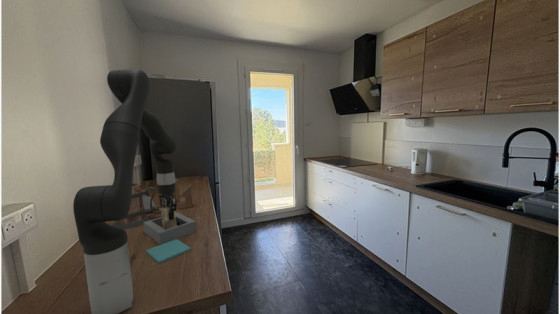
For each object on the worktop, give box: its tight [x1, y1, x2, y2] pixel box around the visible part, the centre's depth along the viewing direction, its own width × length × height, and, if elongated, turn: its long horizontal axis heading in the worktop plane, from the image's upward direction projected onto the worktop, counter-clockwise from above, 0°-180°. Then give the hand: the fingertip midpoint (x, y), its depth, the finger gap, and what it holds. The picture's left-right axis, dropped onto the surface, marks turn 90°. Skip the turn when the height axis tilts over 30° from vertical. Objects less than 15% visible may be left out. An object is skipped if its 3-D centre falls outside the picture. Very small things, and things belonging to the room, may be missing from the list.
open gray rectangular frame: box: [143, 212, 197, 245], centre depth 106 cm, size 18×16×5 cm
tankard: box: [111, 182, 162, 231], centre depth 118 cm, size 24×17×20 cm
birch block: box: [160, 206, 178, 230], centre depth 105 cm, size 4×4×10 cm
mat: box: [145, 238, 192, 264], centre depth 89 cm, size 12×12×1 cm
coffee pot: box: [141, 181, 156, 214], centre depth 138 cm, size 21×12×15 cm, turn 20°
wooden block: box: [173, 178, 193, 210], centre depth 138 cm, size 4×11×18 cm, turn 111°
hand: (169, 218), depth 105 cm, fingers closed on birch block, 4 cm apart
